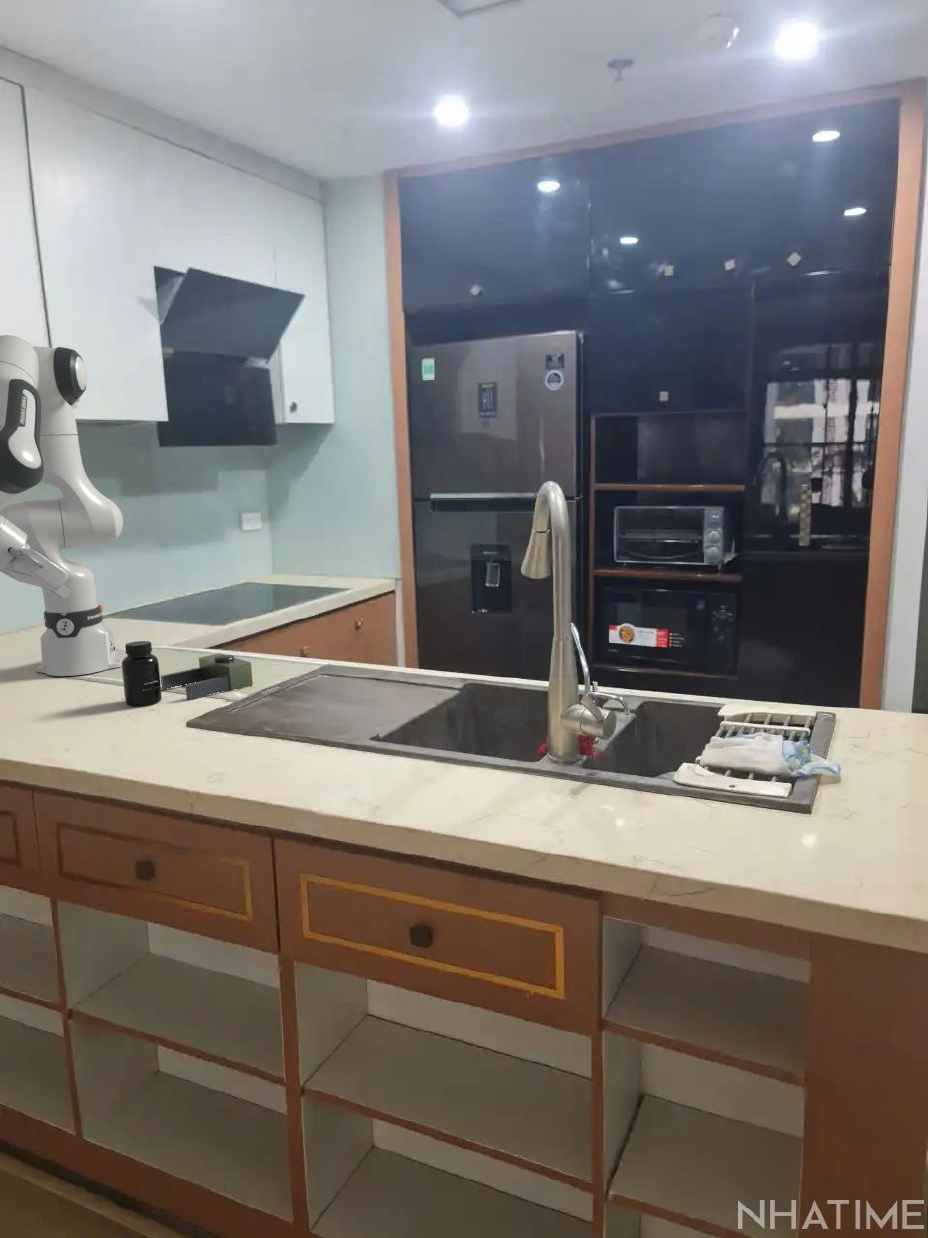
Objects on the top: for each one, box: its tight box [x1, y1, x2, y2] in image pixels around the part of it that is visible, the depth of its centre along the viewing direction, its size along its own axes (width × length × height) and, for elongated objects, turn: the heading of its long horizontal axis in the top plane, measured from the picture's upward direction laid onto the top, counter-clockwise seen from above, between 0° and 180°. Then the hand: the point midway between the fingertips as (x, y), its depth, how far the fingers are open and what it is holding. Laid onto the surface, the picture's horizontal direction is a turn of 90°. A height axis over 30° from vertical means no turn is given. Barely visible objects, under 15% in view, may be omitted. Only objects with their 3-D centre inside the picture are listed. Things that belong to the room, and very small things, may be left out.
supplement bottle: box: [121, 640, 163, 707], centre depth 173 cm, size 7×7×12 cm
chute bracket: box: [160, 653, 254, 701], centre depth 183 cm, size 14×13×6 cm
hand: (65, 594), depth 161 cm, fingers closed
